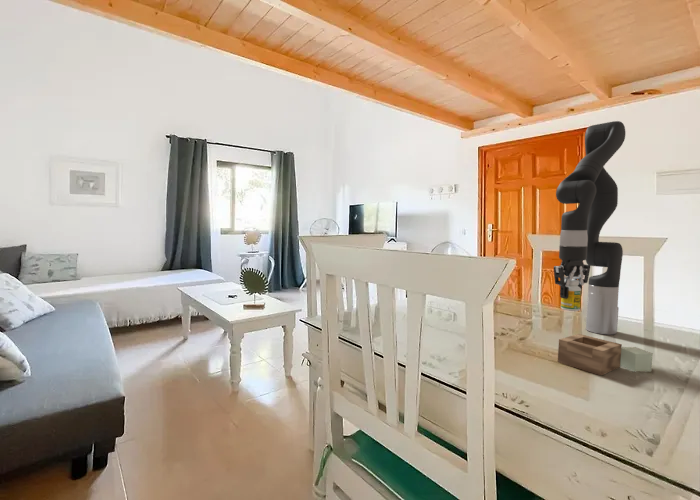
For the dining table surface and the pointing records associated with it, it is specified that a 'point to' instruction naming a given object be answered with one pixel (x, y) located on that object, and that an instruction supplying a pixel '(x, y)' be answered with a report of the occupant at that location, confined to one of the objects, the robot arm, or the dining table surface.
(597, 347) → the brown open box
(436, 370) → the dining table surface
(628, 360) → the green cube
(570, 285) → the supplement bottle
